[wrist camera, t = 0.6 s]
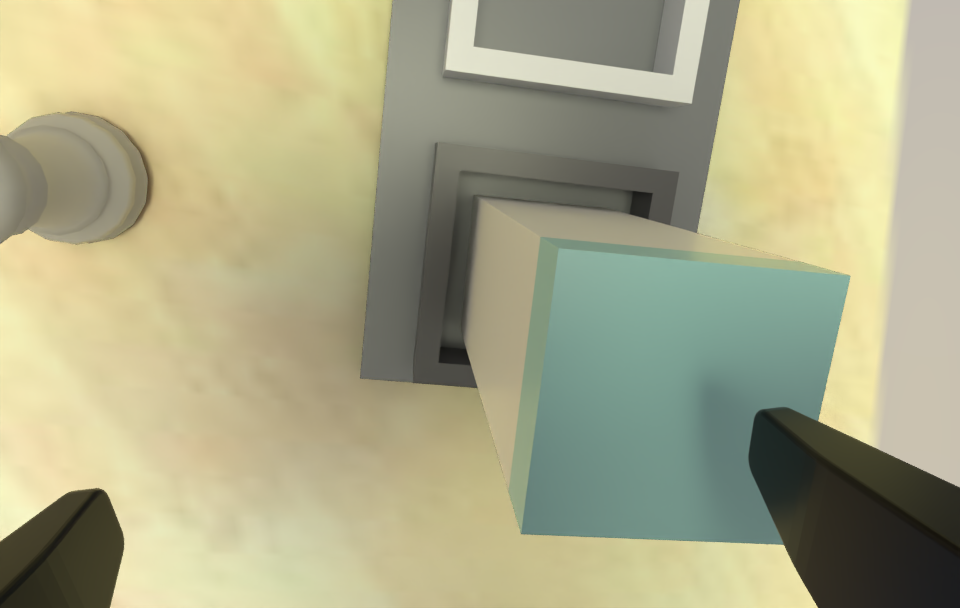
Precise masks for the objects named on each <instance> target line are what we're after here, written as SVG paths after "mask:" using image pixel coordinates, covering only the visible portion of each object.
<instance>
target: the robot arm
mask: <svg viewBox="0 0 960 608" xmlns="http://www.w3.org/2000/svg"><path fill="white" fill-rule="evenodd" d="M748 462H749V467H750V470H751V473H752V475H753V478H754V480H755V482H756V484H757V486H758V489H759V491H760V493H761V495H762V497H763V500H764V502H765V504H766V506H767V508H768V511H769V513H770V515H771V517H772V519H773V522H774V524H775V526H776V528H777V530H778V533H779V535H780V537H781V539H782V541H783V544H784V546H785V548H786V550H787V552H788V554H789V556H790V558H791V561H792V563H793V565H794V567H795V568H796V570H797V572H798V574H799V576H800V577H801V579H802V581H803V583H804V584H805V586H806V588H807V589H808V591H809V593H810V595H811V596H812V598H813V600H814V601H815V603H816V605H817V606H818V608H960V487H957V486H955V485H953V484H951V483H949V482H947V481H945V480H942V479H940V478H938V477H936V476H934V475H932V474H930V473H927V472H925V471H923V470H921V469H919V468H917V467H915V466H912V465H910V464H908V463H906V462H904V461H902V460H900V459H897V458H895V457H893V456H891V455H889V454H887V453H885V452H883V451H880V450H878V449H876V448H874V447H872V446H870V445H868V444H865V443H863V442H861V441H859V440H857V439H855V438H853V437H850V436H848V435H846V434H844V433H842V432H840V431H838V430H835V429H833V428H831V427H829V426H827V425H825V424H823V423H820V422H818V421H816V420H814V419H812V418H810V417H808V416H805V415H803V414H801V413H799V412H797V411H795V410H793V409H790V408H788V407H776V408H768V409H761V410H759V411H758V412H757V413H756V414H755V417H754V420H753V427H752V433H751V440H750V446H749V453H748ZM123 551H124V536H123V532H122V529H121V527H120V524H119V522H118V519H117V517H116V514H115V511H114V509H113V506H112V504H111V501H110V499H109V497H108V495H107V493H106V492H105V491H104V490H102V489H99V488H94V489H86V490H77V491H71V492H69V493H66V494H65V495H63V496H62V497H61V498H59V499H58V500H57V501H55V502H54V503H52V504H51V505H50V506H48V507H47V508H46V509H44V510H43V511H42V512H40V513H39V514H37V515H36V516H35V517H33V518H32V519H31V520H29V521H28V522H26V523H25V524H24V525H22V526H21V527H20V528H18V529H17V530H15V531H14V532H13V533H11V534H10V535H9V536H7V537H6V538H4V539H3V540H2V541H0V608H110V605H111V601H112V597H113V593H114V589H115V585H116V581H117V576H118V572H119V568H120V564H121V560H122V556H123Z"/></svg>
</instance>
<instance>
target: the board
mask: <svg viewBox="0 0 960 608" xmlns="http://www.w3.org/2000/svg"><path fill="white" fill-rule="evenodd" d="M739 2H740V0H393V4H392V15H391V27H390V39H389V50H388V62H387V73H386V85H385V97H384V108H383V120H382V131H381V143H380V155H379V166H378V178H377V189H376V201H375V213H374V224H373V236H372V247H371V259H370V271H369V282H368V294H367V305H366V317H365V329H364V340H363V352H362V363H361V375H360V378H362V379H375V380H388V381H400V382H413V383H422V384H434V385H447V386H460V387H472V388H478V387H477V384H476V380H475V377H474V373H473V370H472V367H471V363H470V360H469V357H468V353H467V350H466V346H465V343H464V340H463V336H462V333H461V330H460V327H461V317H462V308H463V298H464V289H465V279H466V269H467V260H468V250H469V240H470V231H471V221H472V211H473V202H474V195H483V196H493V197H502V198H512V199H522V200H532V201H541V202H551V203H561V204H571V205H580V206H590V207H600V208H609V209H612V210H616V211H620V212H623V213H627V214H630V215H634V216H638V217H641V218H645V219H648V220H652V221H656V222H659V223H663V224H666V225H670V226H673V227H677V228H681V229H684V230H688V231H691V232H695V233H697V229H698V223H699V218H700V212H701V207H702V202H703V196H704V191H705V185H706V180H707V175H708V169H709V164H710V159H711V153H712V148H713V142H714V137H715V132H716V126H717V121H718V115H719V110H720V105H721V99H722V94H723V88H724V83H725V78H726V72H727V67H728V62H729V56H730V51H731V45H732V40H733V35H734V29H735V24H736V18H737V13H738V8H739Z"/></svg>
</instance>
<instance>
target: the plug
mask: <svg viewBox="0 0 960 608" xmlns="http://www.w3.org/2000/svg"><path fill="white" fill-rule="evenodd" d="M849 280H850V276H849V275H846V274H842V273H839V272H835V271H831V270H828V269H824V268H821V267H817V266H813V265H810V264H806V263H803V262H799V261H795V260H792V259H788V258H785V257H781V256H778V255H774V254H770V253H767V252H763V251H760V250H756V249H752V248H749V247H745V246H742V245H738V244H734V243H731V242H727V241H724V240H720V239H717V238H713V237H709V236H706V235H702V234H699V233H695V232H691V231H688V230H684V229H681V228H677V227H673V226H670V225H666V224H663V223H659V222H656V221H652V220H648V219H645V218H641V217H638V216H634V215H630V214H627V213H623V212H620V211H616V210H612V209H609V208H600V207H590V206H580V205H571V204H561V203H551V202H541V201H532V200H522V199H512V198H502V197H493V196H483V195H474V202H473V211H472V221H471V231H470V240H469V250H468V260H467V269H466V279H465V289H464V298H463V308H462V317H461V327H460V330H461V333H462V336H463V340H464V343H465V346H466V350H467V353H468V357H469V360H470V363H471V367H472V370H473V373H474V377H475V380H476V384H477V387H478V390H479V394H480V397H481V401H482V404H483V407H484V411H485V414H486V417H487V421H488V424H489V428H490V431H491V434H492V438H493V441H494V444H495V448H496V451H497V455H498V458H499V461H500V465H501V468H502V472H503V475H504V478H505V482H506V485H507V488H508V492H509V495H510V499H511V502H512V505H513V509H514V512H515V515H516V519H517V522H518V526H519V529H520V532H521V534H531V535H556V536H580V537H605V538H630V539H655V540H680V541H705V542H730V543H755V544H779V545H784V544H783V541H782V539H781V537H780V535H779V533H778V530H777V528H776V526H775V524H774V522H773V519H772V517H771V515H770V513H769V511H768V508H767V506H766V504H765V502H764V500H763V497H762V495H761V493H760V491H759V489H758V486H757V484H756V482H755V480H754V478H753V475H752V473H751V470H750V467H749V462H748V453H749V446H750V440H751V433H752V427H753V420H754V417H755V414H756V413H757V412H758V411H759V410H761V409H768V408H776V407H788V408H790V409H793V410H795V411H797V412H799V413H801V414H803V415H805V416H808V417H810V418H812V419H814V420H816V421H818V419H819V414H820V410H821V405H822V401H823V396H824V392H825V387H826V383H827V378H828V374H829V370H830V365H831V361H832V356H833V352H834V347H835V343H836V338H837V334H838V329H839V325H840V321H841V316H842V312H843V307H844V303H845V298H846V294H847V289H848V285H849Z"/></svg>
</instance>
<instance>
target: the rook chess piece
mask: <svg viewBox="0 0 960 608" xmlns="http://www.w3.org/2000/svg"><path fill="white" fill-rule="evenodd" d="M147 185H148V176H147V173H146V170H145V167H144V164H143V161H142V157H141V154H140V152H139V151H138V150H137V148H136V147H135V146H134V145H133V144H132V142H131V141H130V140H129V139H128V137H127V136H126V135H125V134H124V132H123V131H121V130H120V129H118V128H116V127H115V126H113V125H111V124H110V123H108V122H106V121H105V120H103V119H102V118H100V117H97V116H92V115H87V114H81V113H76V112H67V113H60V112H58V113H53V114H48V115H43V116H38V117H33V118H31V119H29V120H27V121H26V122H24V123H23V124H22V125H20V126H19V127H18V128H16V129H15V130H13V131H12V132H11V133H9V134H8V135H7V136H3V135H0V244H1V243H2V242H4V241H5V240H6V239H8V238H9V237H10V236H12V235H17V234H21V233H23V232H24V231H26V230H27V229H29V230H31V231H32V232H34V233H36V234H38V235H39V236H41V237H43V238H45V239H48V240H52V241H58V242H64V243H70V244H76V245H78V244H83V243H93V242H98V241H103V240H107V239H112V238H115V237H116V236H118V235H119V234H121V233H122V232H123V231H125V230H126V229H128V228H129V227H130V226H132V225H133V224H134V223H135V221H136V219H137V218H138V216H139V214H140V212H141V211H142V209H143V207H144V205H145V204H146V196H147Z"/></svg>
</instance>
